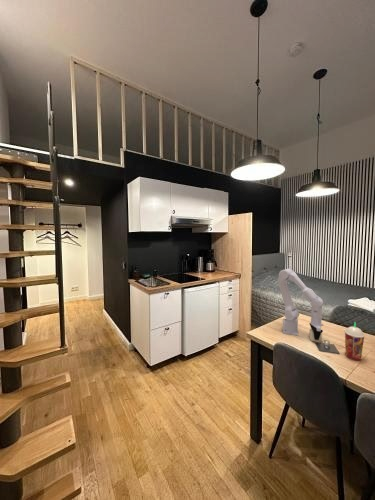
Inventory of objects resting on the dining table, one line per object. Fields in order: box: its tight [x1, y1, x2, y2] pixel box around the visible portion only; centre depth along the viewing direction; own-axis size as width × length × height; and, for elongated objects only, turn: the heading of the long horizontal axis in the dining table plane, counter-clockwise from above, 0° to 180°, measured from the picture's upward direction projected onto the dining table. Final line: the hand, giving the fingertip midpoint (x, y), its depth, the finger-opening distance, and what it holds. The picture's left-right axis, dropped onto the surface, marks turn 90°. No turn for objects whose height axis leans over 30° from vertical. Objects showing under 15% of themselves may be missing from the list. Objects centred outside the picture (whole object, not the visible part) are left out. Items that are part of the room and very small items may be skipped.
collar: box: [308, 329, 323, 343], centre depth 134 cm, size 6×6×5 cm
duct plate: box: [314, 339, 340, 355], centre depth 125 cm, size 10×10×4 cm
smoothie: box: [344, 321, 365, 361], centre depth 115 cm, size 8×8×20 cm
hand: (315, 337), depth 134 cm, fingers closed on collar, 6 cm apart
